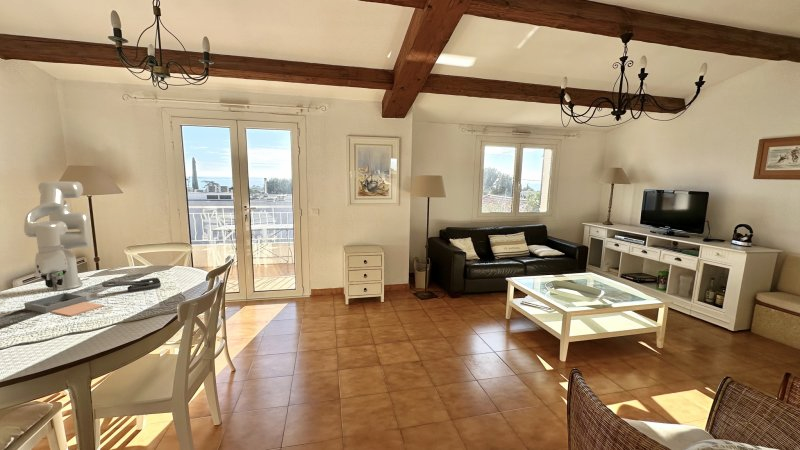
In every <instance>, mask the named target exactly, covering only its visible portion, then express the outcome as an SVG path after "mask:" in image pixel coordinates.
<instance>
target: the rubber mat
mask: <svg viewBox="0 0 800 450" xmlns="http://www.w3.org/2000/svg"><path fill="white" fill-rule="evenodd" d="M104 306H105V305H104V304H99V303H94V302H90V301H88V302H82V303H78V304H75V305H71V306H67V307H64V308H60V309H57V310H53V311H51V312H50V314H51V313H52V314H57V315H62V316H67V317H74V316H77V315H80V314H83V313H88V312H91V311H92V310H93V311H95V310H97V309H100V308H103V307H104Z"/></svg>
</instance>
